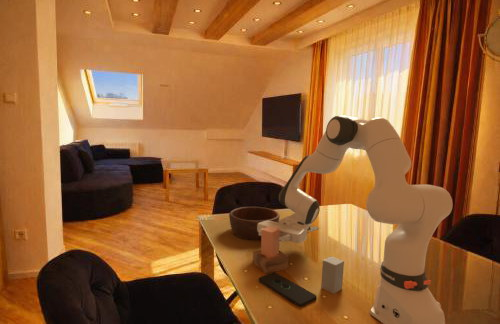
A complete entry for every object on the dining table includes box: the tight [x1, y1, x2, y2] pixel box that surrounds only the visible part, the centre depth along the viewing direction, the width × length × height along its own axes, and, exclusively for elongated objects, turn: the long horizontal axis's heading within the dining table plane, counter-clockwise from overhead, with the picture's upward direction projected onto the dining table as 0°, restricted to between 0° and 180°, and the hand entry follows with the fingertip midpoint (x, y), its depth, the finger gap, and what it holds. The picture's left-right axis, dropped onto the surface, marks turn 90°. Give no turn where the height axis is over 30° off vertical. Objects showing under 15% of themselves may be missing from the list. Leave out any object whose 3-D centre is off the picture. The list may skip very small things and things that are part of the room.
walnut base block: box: [252, 249, 289, 275], centre depth 125 cm, size 10×10×5 cm
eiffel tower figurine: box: [307, 225, 319, 234], centre depth 169 cm, size 15×10×13 cm
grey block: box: [320, 256, 345, 294], centre depth 108 cm, size 5×5×10 cm
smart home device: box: [258, 271, 317, 308], centre depth 107 cm, size 8×2×20 cm
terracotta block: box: [260, 226, 280, 258], centre depth 123 cm, size 5×5×10 cm
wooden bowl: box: [228, 206, 280, 241], centre depth 159 cm, size 25×25×10 cm
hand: (270, 236), depth 123 cm, fingers open, 8 cm apart
